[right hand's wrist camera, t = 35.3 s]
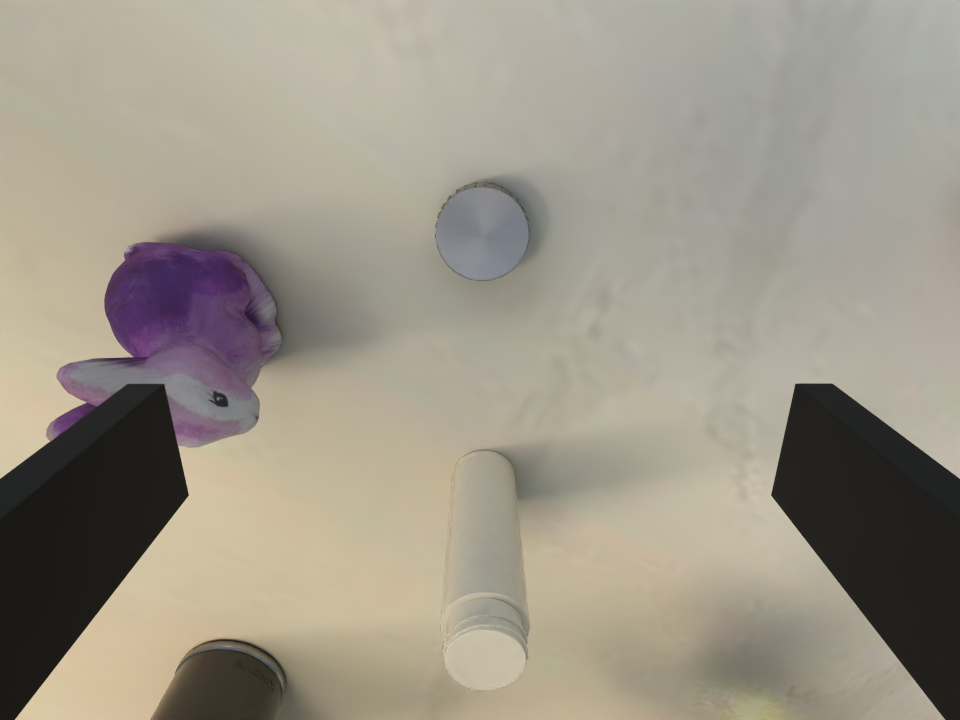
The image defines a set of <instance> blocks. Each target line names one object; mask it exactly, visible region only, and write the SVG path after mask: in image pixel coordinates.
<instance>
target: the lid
mask: <svg viewBox="0 0 960 720" xmlns="http://www.w3.org/2000/svg"><path fill="white" fill-rule="evenodd" d="M524 213H525V210H524V208H523V207H521V205H520V202H519V200H518V199H517V200H516V198H515V197H514V196H513V194H512V192H510V193H509V192H508V191H507V190H505V189H504V187H499V186H497V185H495V183H493V184H489V183H485V182H484V183H476V182H474V184H471V185H468V186H466V185H465V186H464V187H463V188H461V189H459V190H458V189H457V190H456V192H455V193H454V194H453V195H452V196H449V197H448V200H447V202H446V203H444V204H443V206H442V211H441V212H439V214H438V217H437V218H438V221H437V223H436V225H435V228H436V235H435V237H436V242H437V247H438V250H439V252H440V255H441V257H442V258H443V260H444V261H445V263H446V264H447V265H448V266H449V267H450V268H451V269H452V270H453V271H454V272H456V273H457V274H459V275H461V276H463V277H465V278H468V279H472V280H477V281H488V280H493V279H497V278H500V277H502V276H504V275H506V274H507V273H509V272H510V271H511V270H513V269H514V268H515V267H516V266H517V265H518V264H519V262H520V261H521V259H522V258H523V256H524V254H525V252H526V249H527V246H528V242H529V232H530V230H529V227H528V222H529V221H528V219H527V217H526V216H525V214H524Z"/></svg>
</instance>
